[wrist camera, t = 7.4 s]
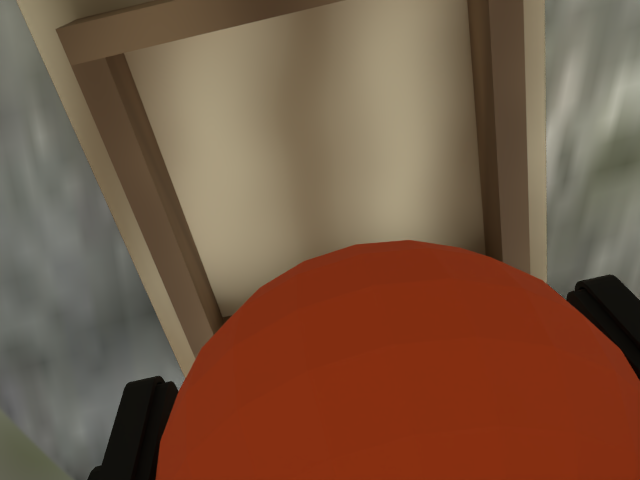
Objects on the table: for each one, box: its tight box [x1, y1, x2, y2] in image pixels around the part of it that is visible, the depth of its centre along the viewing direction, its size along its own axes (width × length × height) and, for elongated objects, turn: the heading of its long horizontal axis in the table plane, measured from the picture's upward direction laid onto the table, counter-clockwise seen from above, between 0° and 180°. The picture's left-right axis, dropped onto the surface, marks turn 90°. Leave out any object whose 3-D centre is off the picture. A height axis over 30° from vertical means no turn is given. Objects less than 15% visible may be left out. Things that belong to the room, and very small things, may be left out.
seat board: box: [16, 0, 547, 379], centre depth 20 cm, size 16×20×4 cm
